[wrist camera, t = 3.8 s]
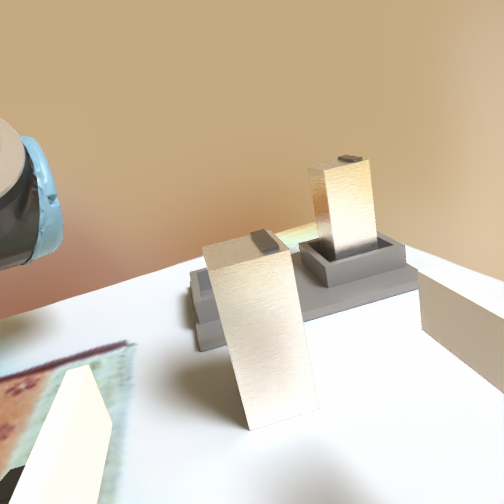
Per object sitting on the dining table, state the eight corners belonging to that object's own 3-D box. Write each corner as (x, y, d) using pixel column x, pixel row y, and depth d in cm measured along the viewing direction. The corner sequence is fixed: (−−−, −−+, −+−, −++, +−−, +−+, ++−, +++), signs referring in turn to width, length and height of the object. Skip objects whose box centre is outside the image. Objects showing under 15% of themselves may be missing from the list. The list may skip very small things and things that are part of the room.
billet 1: (249, 430, 27) (207, 266, 23) (237, 386, 32) (200, 243, 28) (318, 408, 28) (289, 244, 24) (296, 368, 32) (269, 225, 28)
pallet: (200, 351, 37) (191, 319, 36) (191, 288, 52) (184, 264, 51) (430, 285, 40) (428, 253, 39) (359, 242, 55) (356, 219, 54)
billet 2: (338, 276, 44) (323, 167, 40) (322, 262, 49) (307, 163, 45) (379, 265, 45) (368, 156, 41) (359, 252, 50) (348, 153, 46)
